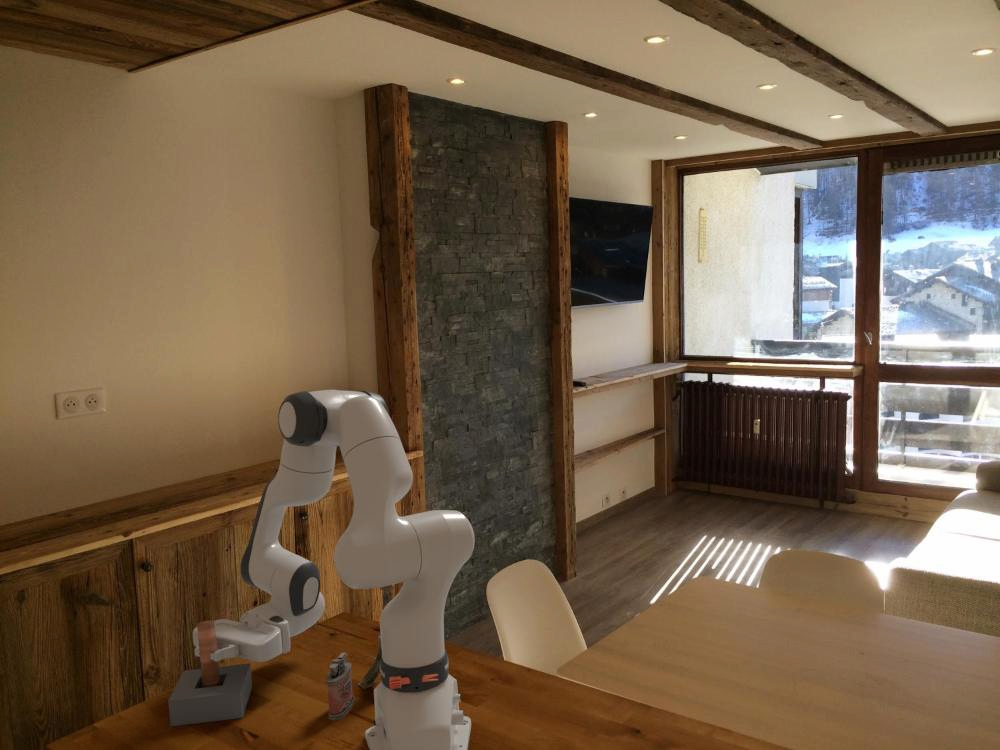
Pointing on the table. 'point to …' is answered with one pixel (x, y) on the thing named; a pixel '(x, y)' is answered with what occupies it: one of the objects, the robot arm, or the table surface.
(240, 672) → the holder
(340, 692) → the lighter
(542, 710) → the table surface
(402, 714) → the robot arm
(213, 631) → the peg
